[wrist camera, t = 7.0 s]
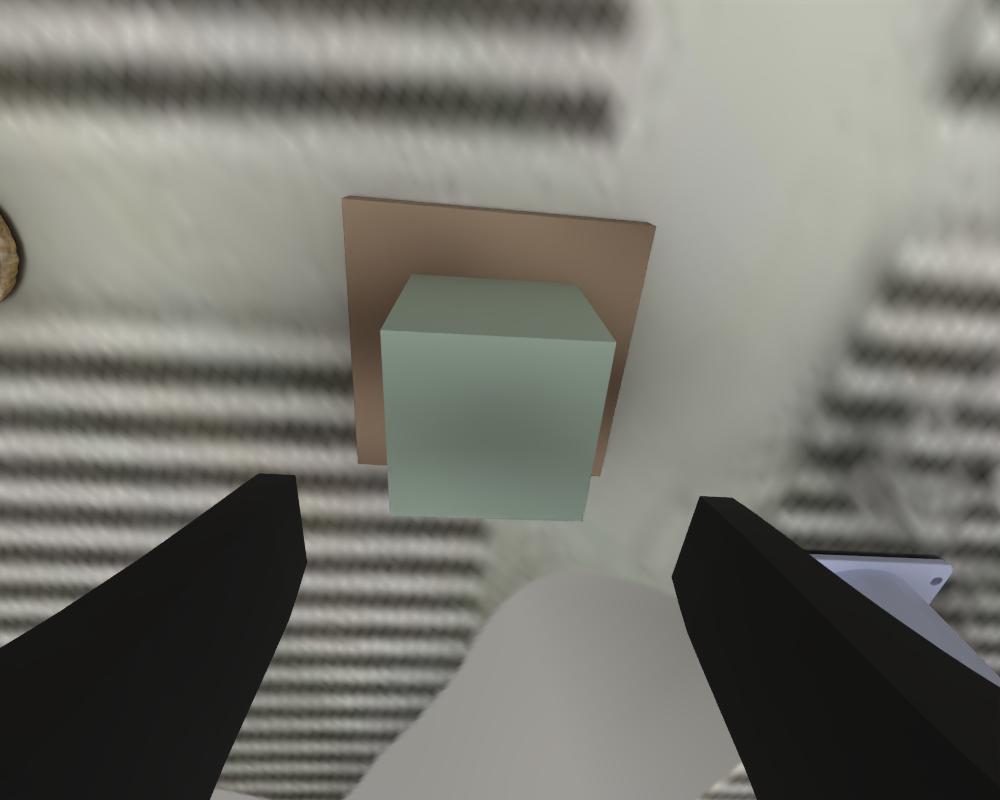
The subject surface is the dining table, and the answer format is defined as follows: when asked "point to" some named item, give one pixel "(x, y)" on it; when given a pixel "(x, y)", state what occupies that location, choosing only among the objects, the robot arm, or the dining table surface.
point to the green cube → (492, 398)
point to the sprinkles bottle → (7, 260)
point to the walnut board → (481, 254)
